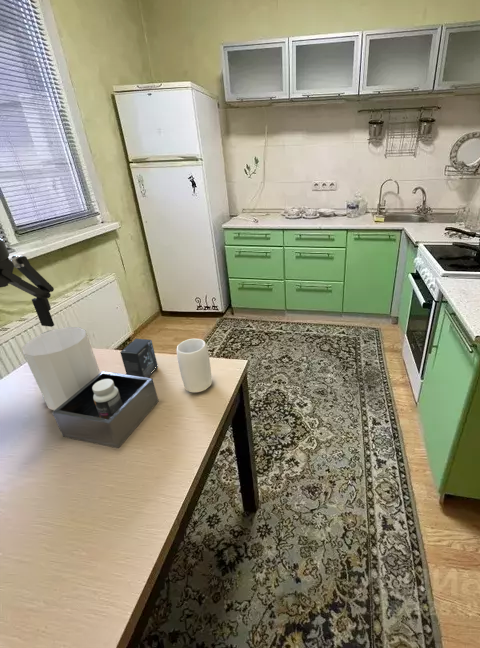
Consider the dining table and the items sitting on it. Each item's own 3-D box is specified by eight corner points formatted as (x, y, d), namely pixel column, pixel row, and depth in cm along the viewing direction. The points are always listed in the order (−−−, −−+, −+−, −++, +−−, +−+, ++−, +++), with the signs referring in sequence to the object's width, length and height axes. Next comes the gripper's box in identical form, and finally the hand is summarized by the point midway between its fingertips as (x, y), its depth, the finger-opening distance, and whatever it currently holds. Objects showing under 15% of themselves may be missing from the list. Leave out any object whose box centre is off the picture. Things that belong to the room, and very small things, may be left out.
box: (144, 382, 97) (136, 353, 92) (128, 381, 98) (119, 351, 93) (158, 367, 104) (151, 339, 99) (143, 365, 105) (135, 337, 100)
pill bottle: (95, 420, 83) (83, 389, 78) (113, 405, 87) (103, 375, 83) (112, 425, 81) (101, 394, 76) (130, 410, 85) (120, 379, 81)
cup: (217, 378, 98) (211, 338, 92) (206, 397, 90) (199, 355, 84) (191, 376, 99) (183, 336, 93) (178, 395, 92) (169, 353, 86)
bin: (63, 437, 79) (51, 412, 76) (110, 393, 93) (102, 371, 90) (118, 448, 76) (109, 423, 72) (158, 401, 89) (152, 378, 86)
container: (113, 388, 95) (95, 335, 88) (60, 419, 85) (35, 362, 77) (88, 372, 103) (70, 322, 95) (37, 398, 92) (12, 345, 84)
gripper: (-98, 263, 46) (-32, 382, 55) (52, 225, 68) (81, 315, 77) (-136, 260, 47) (-66, 376, 57) (23, 224, 69) (55, 312, 79)
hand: (19, 341), depth 67 cm, fingers open, 13 cm apart
